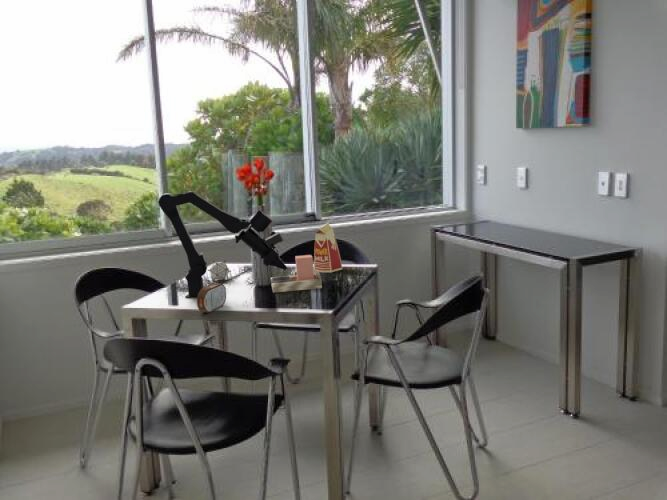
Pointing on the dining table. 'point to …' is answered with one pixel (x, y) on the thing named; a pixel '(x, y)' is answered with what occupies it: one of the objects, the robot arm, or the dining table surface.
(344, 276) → the dining table surface
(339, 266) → the milk carton
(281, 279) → the wooden tray
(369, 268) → the dining table surface
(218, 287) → the tin
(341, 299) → the dining table surface
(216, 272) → the geodesic ball
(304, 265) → the coral block
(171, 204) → the robot arm
